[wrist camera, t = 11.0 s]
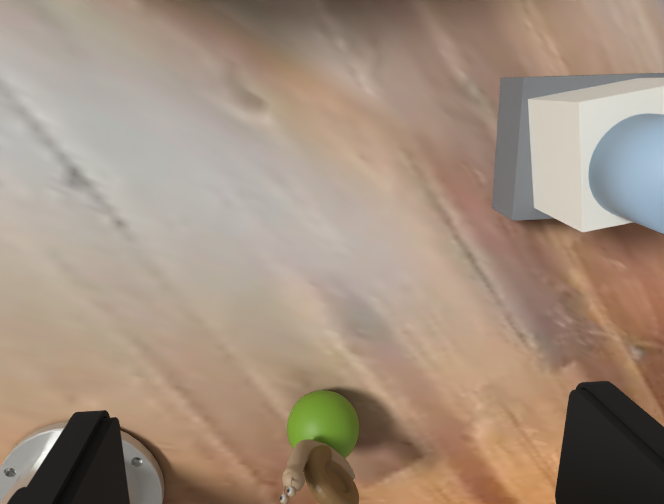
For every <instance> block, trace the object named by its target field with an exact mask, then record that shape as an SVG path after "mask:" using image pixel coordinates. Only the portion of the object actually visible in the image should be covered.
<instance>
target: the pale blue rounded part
mask: <svg viewBox="0 0 664 504" xmlns="http://www.w3.org/2000/svg"><path fill="white" fill-rule="evenodd" d="M588 179H589V186H590V189H591V192H592V194H593V197H594V198H595V200H596V201H597V202H598V204H599V205H600V206H601V207H602V208H604V209H605V210H606V211H608V212H610V213H612V214H615V215H617V216H620V217H622V218H625V219H627V220H630V221H632V222H635V223H637V224H640V225H642V226H645V227H647V228H650V229H652V230H655V231H657V232H660V233H662V234H664V114H651V113H647V114H638V115H634V116H631V117H628V118H626V119H624V120H622V121H620V122H619V123H617V124H616V125H614V126H613V127H612V128H611V129H610V130H609V131H608V132H606V134H605V135H604V136H603V137H602V138H601V140H600V141H599V143H598V144H597V146H596V148H595V150H594V152H593V154H592V157H591V160H590V164H589V171H588Z"/></svg>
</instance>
